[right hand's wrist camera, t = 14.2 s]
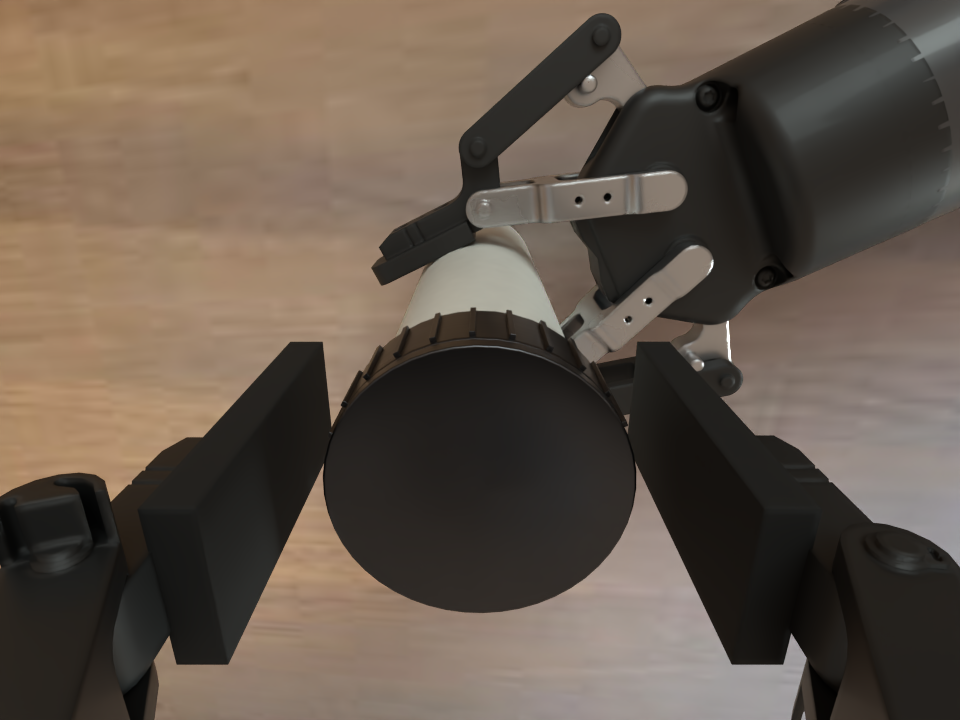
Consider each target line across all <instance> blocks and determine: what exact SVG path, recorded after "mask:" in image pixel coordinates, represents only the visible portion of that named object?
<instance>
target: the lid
mask: <svg viewBox="0 0 960 720" xmlns="http://www.w3.org/2000/svg"><path fill="white" fill-rule="evenodd" d="M341 406H342V408H341V410H340V412H339V414H338V416H337V418H336V420H335V422H334V424H333V426H332V428H331V430H330V432H329V435H328V437H329V438H330V440H329V443H328V447H327V451H326V455H325V459H324V470H323V486H324V496H325V501H326V506H327V510H328V513H329V516H330V519H331V521H332V524H333V527H334V529H335V531H336V533H337V534H338V536H339V538H340V540H341V542H342V544H343V545H344V546H345V548H346V549H347V550H348V552H349V553H350V554H351V556H352V557H353V558H354V559H355V560H356V561H357V562H358V563H359V564H360V565H361V567H362V568H363V569H364V570H365V571H367V572H368V573H369V574H370V575H372V576H373V577H374V578H375V579H376V580H378V581H379V582H380V583H382V584H384V585H385V586H387V587H388V588H390V589H392V590H393V591H395V592H397V593H399V594H401V595H403V596H405V597H407V598H409V599H411V600H414V601H417V602H420V603H423V604H425V605H428V606H432V607H437V608H441V609H445V610H451V611H458V612H470V613H489V612H503V611H508V610H514V609H520V608H523V607H527V606H531V605H534V604H538V603H540V602H543V601H545V600H548V599H550V598H553V597H555V596H557V595H559V594H561V593H562V592H564V591H566V590H568V589H570V588H572V587H573V586H574V585H576V584H577V583H579V582H580V581H582V580H583V579H585V578H586V577H587V576H588V575H589V574H590V573H592V572H593V571H594V570H595V569H596V568H597V567H598V566H599V565H600V564H601V563H602V562H603V561H604V560H605V558H606V557H607V556H608V555H609V554H610V553H611V551H612V550H613V548H614V547H615V545H616V544H617V542H618V541H619V539H620V538H621V536H622V534H623V531H624V529H625V527H626V525H627V523H628V520H629V517H630V514H631V511H632V508H633V504H634V498H635V492H636V466H635V459H634V458H635V456H634V452H633V449H632V446H631V443H630V440H629V436H628V434H627V432H626V430H625V428H624V427H626V426H628V424H627V421H626V419H625V417H624V415H623V413H622V411H621V410H620V408H619V406H618V404H617V402H616V400H615V398H614V396H613V394H612V392H611V390H610V388H608V386H607V384H606V382H605V380H604V378H603V376H602V374H601V372H600V370H599V368H598V366H597V364H596V363H595V362H594V361H593V362H591V363H590V362H589V360H588V359H587V358H586V357H585V356H584V355H583V354H582V353H581V352H580V350H579V349H578V348H577V345H576V343H575V341H574V340H573V339H572V338H569V339H568V340H567V339H566V338H565V337H563V336H562V335H560V334H558V333H557V332H555V331H553V330H552V329H550V328H549V327H547V325H546V322H544V321H542V320H540V322H539V323H538V322H535V321H533V320H531V319H527V318H524V317H521V316H517V315H514V314H512V311H511V310H506V313H502V312H496V311H476V307H471V308H470V311H465V312H456V313H451V314H447V315H442V316H441V313H436V314H435V317H434V318H432V319H430V320H427V321H424V322H421V323H419V324H417V325H415V326H413V327H411V328H409V327H408V326H405V327H404V328H403V329H402V332H401V334H400V335H398V336H397V337H395V338H394V339H392V340H391V341H390V342H389V343H388V344H387V345H385V346H384V347H383V348H382V347H381V346H380V345H379V346H378V347H377V348H376V350H375V352H374V355H373V357H372V359H371V361H370V363H369V364H368V365H367V366H366V368H365V370H364V371H363V372H362V371H360V370H359V371H358V373H357V375H356V377H355V379H354V381H353V382H352V384H351V386H350V388H349V390H348V392H347V394H346V396H345V398H344V400H343V402H342V404H341Z"/></svg>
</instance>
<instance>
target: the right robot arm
mask: <svg viewBox="0 0 960 720" xmlns="http://www.w3.org/2000/svg"><path fill="white" fill-rule="evenodd" d="M330 430H331V418H330V408H329V399H328V389H327V380H326V370H325V360H324V351H323V342H290V343H289V344H288V345H287V346H286V347H285V348H284V349H283V351H282V352H281V353H280V354H279V355H278V356H277V357H276V358H275V359H274V360H273V362H272V363H271V364H270V365H269V366H268V367H267V368H266V369H265V370H264V371H263V372H262V374H261V375H260V376H259V377H258V378H257V379H256V380H255V381H254V382H253V383H252V384H251V386H250V387H249V388H248V389H247V390H246V391H245V392H244V393H243V394H242V395H241V396H240V398H239V399H238V400H237V401H236V402H235V403H234V404H233V405H232V406H231V407H230V409H229V410H228V411H227V412H226V413H225V414H224V415H223V416H222V417H221V418H220V419H219V421H218V422H217V423H216V424H215V425H214V426H213V427H212V428H211V429H210V430H209V431H208V433H207V434H206V435H205V436H204V437H187V438H185V439H183V440H181V441H179V442H178V443H176V444H174V445H172V446H171V447H169V448H167V449H165V450H163V451H162V452H161V453H160V454H159V455H158V456H157V457H156V458H155V459H154V460H153V461H152V462H151V463H150V464H149V465H148V466H147V467H146V470H145V471H142V472H141V473H140V474H139V475H138V476H137V477H136V478H135V479H134V480H133V481H132V485H128V486H127V487H126V488H125V489H124V490H123V491H122V492H120V493H119V494H118V495H117V496H116V497H115V498H114V499H113V500H112V501H111V502H110V498H109V495H108V491H107V487H106V484H105V481H104V480H103V479H101V478H100V477H98V476H97V475H93V474H85V473H71V474H60V475H55V476H51V477H47V478H43V479H39V480H35V481H32V482H30V483H27V484H25V485H22V486H20V487H17V488H15V489H12V490H11V491H9V492H7V493H6V494H4V495H2V496H1V497H0V565H1V568H0V720H154V718H155V710H156V702H157V695H158V687H159V682H158V676H157V671H156V667H155V663H154V659H155V657H156V656H157V654H158V652H159V651H160V649H161V648H162V646H163V644H164V643H165V641H166V640H167V638H168V636H170V640H171V644H172V648H173V652H174V656H175V660H176V663H177V665H228V664H229V662H230V660H231V657H232V655H233V653H234V651H235V649H236V647H237V645H238V643H239V641H240V639H241V636H242V634H243V632H244V630H245V628H246V626H247V624H248V622H249V620H250V618H251V615H252V613H253V611H254V609H255V607H256V605H257V603H258V601H259V599H260V596H261V594H262V592H263V590H264V588H265V586H266V584H267V582H268V580H269V578H270V575H271V573H272V571H273V569H274V567H275V565H276V563H277V561H278V559H279V557H280V554H281V552H282V550H283V548H284V546H285V544H286V542H287V540H288V538H289V535H290V533H291V531H292V529H293V527H294V525H295V523H296V521H297V519H298V517H299V514H300V512H301V510H302V508H303V506H304V504H305V502H306V500H307V498H308V496H309V493H310V491H311V489H312V487H313V485H314V483H315V481H316V479H317V477H318V474H319V472H320V470H321V468H322V466H323V464H324V459H325V455H326V451H327V447H328V443H329V440H330V438H329V437H328V435H329V432H330ZM628 436H629V440H630V443H631V446H632V449H633V452H634V456H635V458H634V459H635V462H636V464H637V466H638V468H639V470H640V472H641V474H642V477H643V479H644V481H645V483H646V485H647V487H648V489H649V491H650V493H651V495H652V498H653V500H654V502H655V504H656V506H657V508H658V510H659V512H660V514H661V517H662V519H663V521H664V523H665V525H666V527H667V529H668V531H669V533H670V535H671V538H672V540H673V542H674V544H675V546H676V548H677V550H678V552H679V554H680V556H681V559H682V561H683V563H684V565H685V567H686V569H687V571H688V573H689V575H690V578H691V580H692V582H693V584H694V586H695V588H696V590H697V592H698V594H699V596H700V599H701V601H702V603H703V605H704V607H705V609H706V611H707V613H708V615H709V617H710V620H711V622H712V624H713V626H714V628H715V630H716V632H717V634H718V636H719V639H720V641H721V643H722V645H723V647H724V649H725V651H726V653H727V655H728V657H729V660H730V662H731V664H732V665H783V664H784V660H785V656H786V652H787V648H788V644H789V640H790V636H791V633H792V635H793V636H794V638H795V640H796V641H797V643H798V644H799V646H800V648H801V649H802V651H803V652H804V654H805V656H806V657H807V660H806V663H805V667H804V671H803V674H802V678H801V682H800V685H799V689H798V693H797V696H796V700H795V704H794V707H793V712H792V718H791V720H801V718H802V714H803V712H804V711H805V716H806V720H960V567H959V566H958V565H957V563H956V562H955V561H954V560H953V559H952V557H951V556H950V555H949V554H948V553H947V552H946V551H944V550H943V549H941V548H940V547H938V546H937V545H935V544H934V543H933V542H931V541H930V540H928V539H925V538H923V537H921V536H919V535H917V534H915V533H912V532H910V531H908V530H904V529H901V528H897V527H894V526H890V525H887V524H878V523H873V522H872V521H871V520H870V519H869V518H868V517H867V516H866V515H865V514H864V513H863V512H862V511H861V510H860V509H859V508H857V507H856V506H855V505H854V504H853V503H852V502H851V501H850V500H849V499H848V498H847V497H846V496H845V495H844V494H843V493H842V492H841V491H840V490H839V489H838V488H837V487H836V486H835V485H834V484H833V483H832V482H829V481H828V480H829V479H828V478H827V477H826V476H825V475H824V474H823V473H822V472H821V471H820V470H819V469H815V465H814V464H813V463H812V462H811V461H810V460H809V459H808V458H807V457H806V456H805V455H804V454H803V453H802V452H801V451H800V450H799V449H797V448H795V447H793V446H792V445H790V444H788V443H786V442H784V441H783V440H781V439H779V438H777V437H775V436H755V435H754V434H753V433H752V431H751V430H750V429H749V428H748V427H747V426H746V425H745V424H744V423H743V422H742V421H741V419H740V418H739V417H738V416H737V415H736V414H735V413H734V412H733V411H732V410H731V409H730V407H729V406H728V405H727V404H726V403H725V402H724V401H723V400H722V399H721V398H720V396H719V395H718V394H717V393H716V392H715V391H714V390H713V389H712V388H711V387H710V386H709V384H708V383H707V382H706V381H705V380H704V379H703V378H702V377H701V376H700V375H699V374H698V372H697V371H696V370H695V369H694V368H693V367H692V366H691V365H690V364H689V363H688V362H687V360H686V359H685V358H684V357H683V356H682V355H681V354H680V353H679V352H678V351H677V349H676V348H675V347H674V346H673V345H672V344H671V343H670V342H637V351H636V360H635V370H634V380H633V389H632V399H631V408H630V418H629V428H628Z"/></svg>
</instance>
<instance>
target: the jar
mask: <svg viewBox="0 0 960 720" xmlns="http://www.w3.org/2000/svg"><path fill="white" fill-rule="evenodd" d="M471 307H476V311H496V312H502V313H506V310H511V311H512V314H514V315H517V316H521V317H524V318H527V319H531V320H533V321H535V322H538V323H539V322H540V320H542V321H544V322H546V325H547V327H549V328H550V329H552V330H553V331H555V332H557V333H558V334H560V335H562V336H563V337H564V334H563V332H562V330H561V327H560V325H559V322H558V320H557V318H556V315H555V313H554V310H553V308H552V306H551V303H550V301H549V298H548V296H547V294H546V291H545V289H544V286H543V284H542V281H541V279H540V277H539V274H538V272H537V269H536V267H535V265H534V262H533V260H532V257H531V255H530V253H529V250H528V248H527V246H526V244H525V242H524V240H523V239H522V237H521V236H520V235H519V234H518V233H517V231H516V230H515V229H513V228H512V227H511V226H501V227H493V228H483V229H481V230H479V231H477V232H476V240H475V241H473V242H471V243H469V244H467V245H465V246H463V247H461V248H459V249H457V250H455V251H452V252H450V253H448V254H446V255H444V256H443V257H441V258H439V259H437V260H435V261H433V262H431V263H429V264H427V265H426V266H425V268H424V270H423V273H422V275H421V277H420V280H419V282H418V285H417V287H416V289H415V292H414V294H413V296H412V299H411V301H410V304H409V306H408V308H407V311H406V313H405V315H404V318H403V320H402V323H401V325H400V327H399V330H398V332H397V334H396V337H397V336H398V335H400V334H401V332H402V329H403V328H404V327H405V326H408V327H409V328H411V327H413V326H415V325H417V324H419V323H421V322H424V321H427V320H430V319H432V318H434V317H435V314H436V313H441V316H442V315H447V314H451V313H456V312H465V311H470V308H471Z"/></svg>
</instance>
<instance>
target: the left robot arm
mask: <svg viewBox="0 0 960 720" xmlns="http://www.w3.org/2000/svg"><path fill="white" fill-rule="evenodd" d="M620 41H621V29H620V25H619V23H618V22H617V20H616V19H615V18H614V17H613V16H611V15H609V14H605V13H600V14H596V15H594V16H592V17H590V18H589V19H588V20H587V21H586V22H585V23H584V24H582V25H581V26H580V27H579V28H578V29H577V30H576V31H575V32H574V33H573V34H572V35H571V36H569V37H568V38H567V39H566V40H565V41H564V42H563V43H562V44H561V45H560V46H559V47H557V48H556V49H555V50H554V51H553V52H552V53H551V54H550V55H549V56H548V57H547V58H546V59H544V60H543V61H542V62H541V63H540V64H539V65H538V66H537V67H536V68H535V69H534V70H532V71H531V72H530V73H529V74H528V75H527V76H526V77H525V78H524V79H523V80H522V81H520V82H519V83H518V84H517V85H516V86H515V87H514V88H513V89H512V90H511V91H510V92H509V93H507V94H506V95H505V96H504V97H503V98H502V99H501V100H500V101H499V102H498V103H497V104H495V105H494V106H493V107H492V108H491V109H490V110H489V111H488V112H487V113H486V114H485V115H483V116H482V117H481V118H480V119H479V120H478V121H477V122H476V123H475V124H474V125H473V126H472V127H470V128H469V129H468V130H467V131H466V132H465V133H464V134H463V136H462V137H461V139H460V142H459V153H460V159H461V168H462V176H463V187H462V190H461V192H460V193H459V195H458V196H457V197H456V198H454V199H453V200H451V201H449V202H447V203H445V204H443V205H441V206H439V207H437V208H435V209H433V210H431V211H429V212H427V213H425V214H424V215H422V216H420V217H418V218H416V219H414V220H412V221H410V222H408V223H406V224H404V225H402V226H400V227H398V228H396V229H394V230H393V232H392V233H391V234H390V235H389V236H388V237H387V238H386V240H385V241H384V242H383V243H382V244H381V245H380V247H379V248H380V250H381V252H382V254H383V257H381V258H380V259H378V260H377V261H376V263H375V264H374V265H373V266H372V267H371V268H372V270H373V272H374V274H375V275H376V277H377V279H378V281H379V282H380V284H381V285H386V284H388V283H390V282H392V281H394V280H396V279H398V278H400V277H402V276H404V275H406V274H408V273H410V272H413V271H415V270H417V269H419V268H421V267H423V266H425V265H427V264H429V263H431V262H433V261H435V260H437V259H439V258H441V257H443V256H444V255H446V254H448V253H450V252H452V251H455V250H457V249H459V248H461V247H463V246H465V245H467V244H469V243H471V242H473V241H475V240H476V232H477V231H479V230H481V229H483V228H493V227H501V226H510V225H519V224H527V223H556V222H565V221H570V223H571V225H572V227H573V230H574V232H575V233H576V234H577V236H578V237H579V238H580V239H581V240H582V242H583V243H584V244H585V245H586V247H587V248H588V253H589V261H590V269H591V272H592V274H593V276H594V279H595V281H596V283H597V285H596V286H595V287H594V288H592V289H591V290H590V291H589V292H588V293H587V294H586V295H585V296H584V297H583V298H582V299H581V300H580V301H579V302H578V304H577V306H576V308H575V310H574V311H573V312H572V313H571V314H570V315H569V316H568V317H567V318H566V319H565V320H564V321H563V322H562V323H561V324H560V327H561V330H562V332H563V334H564V337H565V338H566V339H567V340H568V339H569V338H572V339H573V340H574V341H575V343H576V345H577V348H578V349H579V350H580V352H581V353H582V354H583V355H584V356H585V357H586V358H587V359H588V360H589V362H590V363H591V362H593V361H594V362H595V363H596V362H597V361H598V360H599V359H601V358H602V357H603V356H604V355H605V354H607V353H609V352H615V351H617V350H619V349H620V348H621V347H623V346H624V345H625V344H626V343H627V342H628V341H629V340H631V339H632V338H633V337H634V336H635V335H636V334H637V333H638V332H640V331H641V330H642V329H643V328H644V327H645V326H646V325H648V324H649V323H650V322H651V321H652V320H653V319H654V318H655V317H661V318H667V319H673V320H679V321H685V322H691V323H694V325H693V327H692V328H691V330H690V331H689V332H688V333H686V334H684V335H682V336H679V337H677V338H675V339H674V340H672V341H671V344H672V345H673V346H674V347H675V348H676V349H677V351H678V352H679V353H680V354H681V355H682V356H683V357H684V358H685V359H686V360H687V362H688V363H689V364H690V365H691V366H692V367H693V368H694V369H695V370H696V371H697V372H698V374H699V375H700V376H701V377H702V378H703V379H704V380H705V381H706V382H707V383H708V384H709V386H710V387H711V388H712V389H713V390H714V391H715V392H716V393H717V394H718V395H719V396H720V397H723V396H728V395H731V394H733V393H735V392H736V391H737V390H738V389H739V388H740V387H741V385H742V382H743V375H742V373H741V371H740V370H739V369H738V368H737V367H736V366H735V365H734V364H733V363H732V361H731V357H730V341H729V324H728V321H729V320H730V319H732V318H733V317H735V316H736V315H737V314H738V313H739V312H740V311H741V310H742V309H743V307H744V306H745V305H746V304H747V303H748V302H749V301H750V300H751V299H753V298H754V297H755V296H756V295H758V294H759V293H761V292H763V291H765V290H767V289H770V288H773V287H776V286H779V285H783V284H786V283H789V282H792V281H794V280H797V279H799V278H802V277H804V276H806V275H809V274H811V273H813V272H815V271H818V270H820V269H822V268H824V267H827V266H829V265H831V264H833V263H836V262H838V261H840V260H842V259H845V258H847V257H849V256H851V255H854V254H856V253H858V252H861V251H863V250H865V249H867V248H870V247H872V246H874V245H876V244H879V243H881V242H884V241H886V240H888V239H890V238H893V237H895V236H897V235H899V234H902V233H904V232H906V231H909V230H911V229H913V228H915V227H917V226H919V225H922V224H924V223H926V222H928V221H931V220H933V219H935V218H938V217H940V216H942V215H944V214H947V213H949V212H951V211H954V210H956V209H958V208H960V0H843V1H841V2H840V3H838V4H837V5H836V6H835V8H833V9H831V10H829V11H827V12H825V13H823V14H821V15H819V16H817V17H815V18H813V19H811V20H809V21H807V22H805V23H803V24H801V25H799V26H797V27H795V28H793V29H791V30H790V31H788V32H786V33H784V34H782V35H780V36H778V37H776V38H774V39H772V40H770V41H768V42H766V43H764V44H762V45H760V46H758V47H756V48H754V49H752V50H750V51H748V52H746V53H744V54H742V55H740V56H738V57H736V58H735V59H733V60H731V61H729V62H727V63H725V64H723V65H721V66H719V67H717V68H715V69H713V70H711V71H709V72H707V73H705V74H703V75H701V76H699V77H697V78H695V79H693V80H691V81H689V82H687V83H685V84H682V85H679V86H663V85H654V86H649V87H646V85H645V84H644V82H643V81H642V79H641V78H640V76H639V75H638V73H637V72H636V70H635V69H634V67H633V66H632V64H631V63H630V61H629V60H628V58H627V57H626V56H625V54H624V53H623V51H622V50H621V48H620V47H619V44H620ZM563 98H565V100H566V101H567V102H568V103H569V104H570V105H571V106H573V107H577V108H583V107H587V106H590V105H592V104H594V103H596V102H597V101H599V100H607V101H609V102H611V103H613V104H614V105H615V106H616V110H615V111H614V113H613V115H612V117H611V118H610V120H609V122H608V124H607V126H606V127H605V129H604V131H603V133H602V134H601V136H600V138H599V140H598V142H597V143H596V145H595V147H594V149H593V150H592V152H591V154H590V156H589V158H588V159H587V161H586V163H585V165H584V166H583V168H582V170H581V172H575V173H567V174H558V175H550V176H541V177H535V178H530V179H525V180H517V181H509V182H500V178H499V167H498V156H499V155H500V154H501V153H502V152H503V151H504V150H506V149H507V148H508V147H509V146H510V145H511V144H512V143H513V142H515V141H516V140H517V139H518V138H519V137H520V136H521V135H522V134H524V133H525V132H526V131H527V130H528V129H529V128H530V127H531V126H533V125H534V124H535V123H536V122H537V121H538V120H539V119H540V118H542V117H543V116H544V115H545V114H546V113H547V112H548V111H549V110H550V109H552V108H553V107H554V106H555V105H556V104H557V103H558V102H559V101H561V100H562V99H563ZM627 316H628V318H626V317H627ZM625 318H626V319H625ZM635 360H636V356H635V357H630V358H625V359H620V360H615V361H609V362H604V363H599V364H597V366H598V368H599V370H600V372H601V374H602V376H603V378H604V380H605V382H606V384H607V386H608V388H610V390H611V392H612V394H613V396H614V398H615V400H616V402H617V404H618V406H619V408H620V410H621V411H622V413H623V415H627V414H630V408H631V399H632V389H633V380H634V370H635Z"/></svg>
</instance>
